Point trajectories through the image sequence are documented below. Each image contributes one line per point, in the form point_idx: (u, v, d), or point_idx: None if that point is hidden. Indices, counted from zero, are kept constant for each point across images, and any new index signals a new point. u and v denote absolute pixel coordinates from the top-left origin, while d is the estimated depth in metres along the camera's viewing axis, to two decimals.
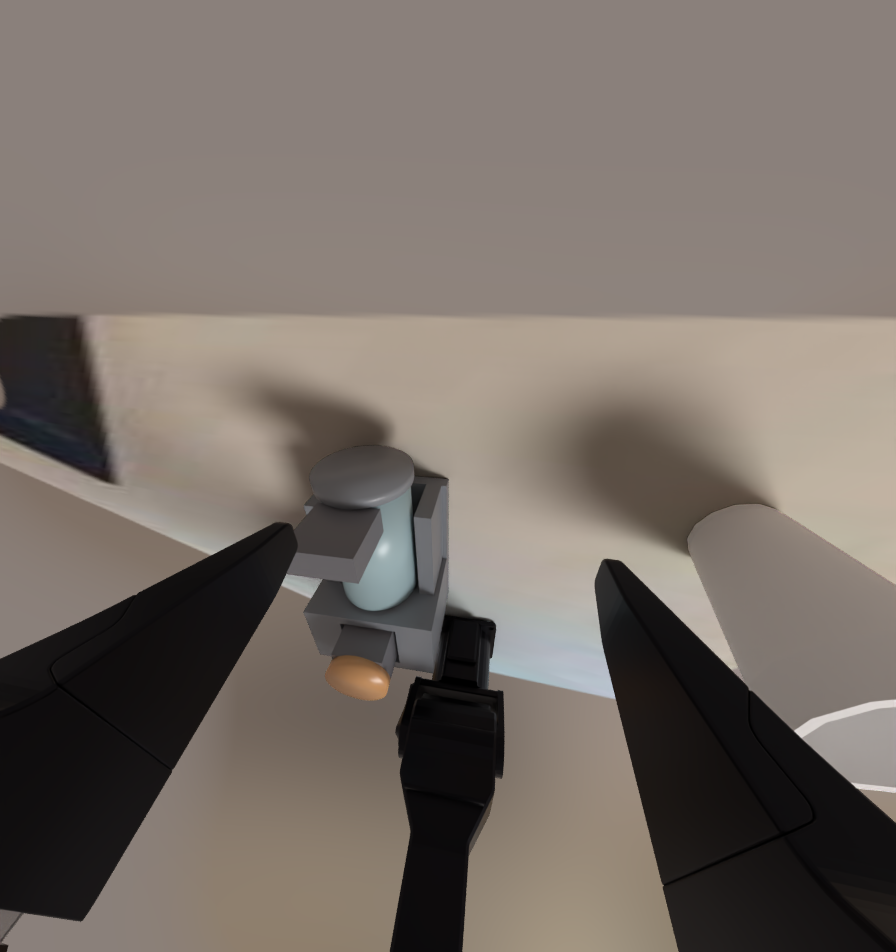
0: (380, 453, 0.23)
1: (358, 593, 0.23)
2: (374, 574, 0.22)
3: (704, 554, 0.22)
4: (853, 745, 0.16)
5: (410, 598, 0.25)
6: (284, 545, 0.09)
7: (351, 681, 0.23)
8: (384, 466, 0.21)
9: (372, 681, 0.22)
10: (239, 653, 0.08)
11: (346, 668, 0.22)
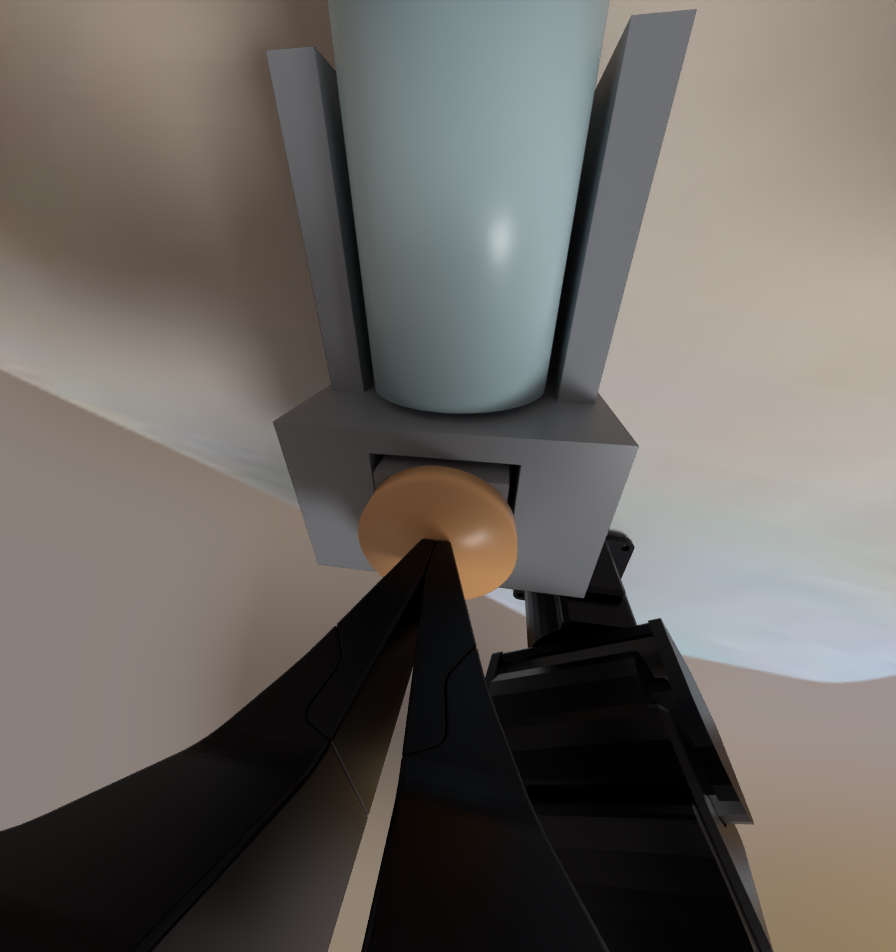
0: None
1: (426, 343, 0.08)
2: (491, 237, 0.07)
3: None
4: None
5: (540, 407, 0.10)
6: None
7: None
8: None
9: (485, 530, 0.08)
10: (407, 683, 0.08)
11: (421, 487, 0.08)
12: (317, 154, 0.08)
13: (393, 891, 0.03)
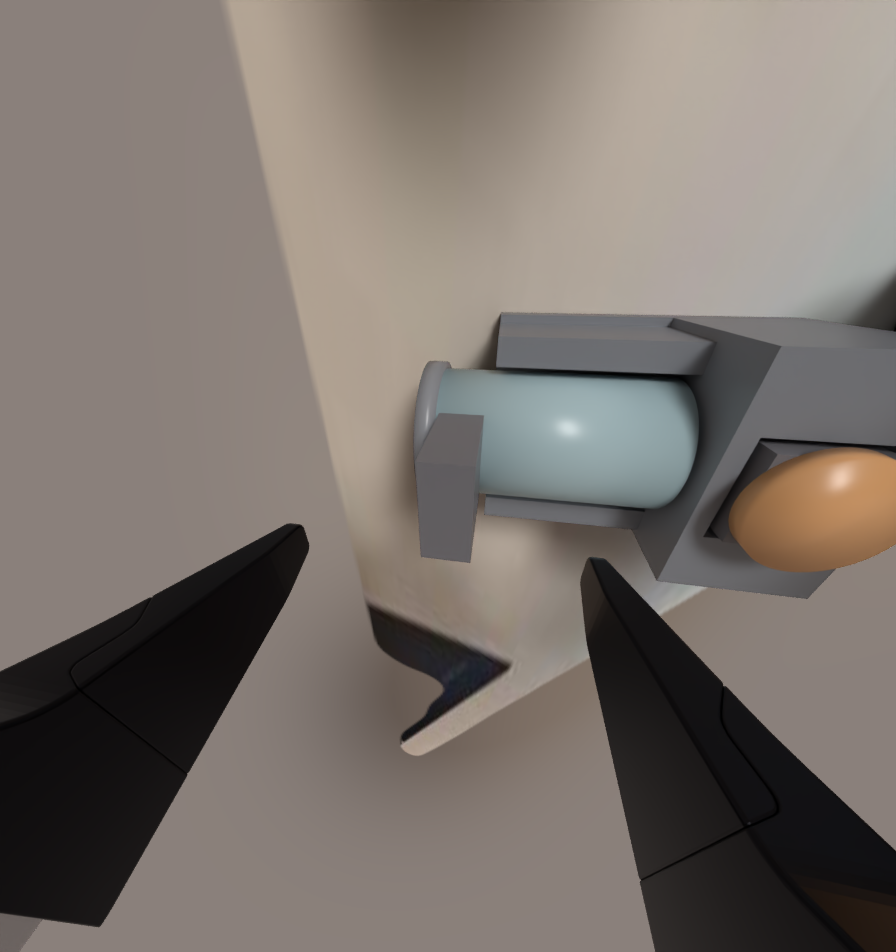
0: None
1: (632, 485, 0.13)
2: (584, 447, 0.12)
3: None
4: None
5: (703, 394, 0.12)
6: (296, 547, 0.09)
7: (811, 528, 0.10)
8: None
9: (824, 484, 0.10)
10: (252, 656, 0.08)
11: (750, 523, 0.11)
12: (518, 505, 0.17)
13: None
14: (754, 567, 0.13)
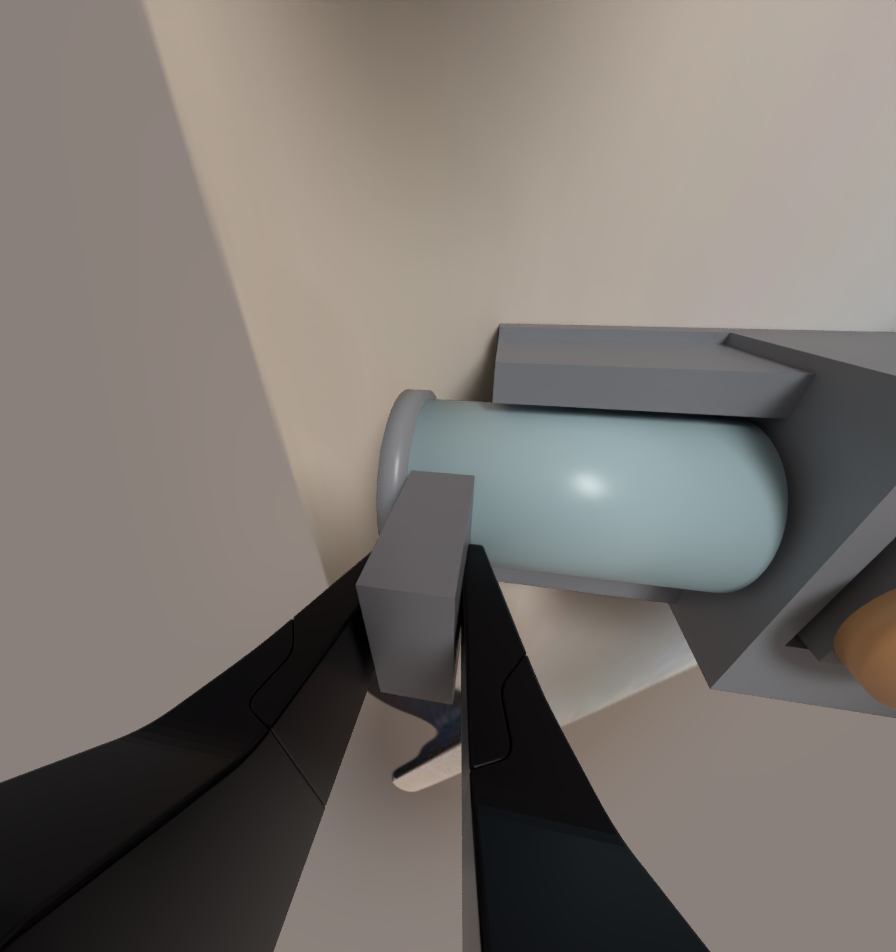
0: None
1: (684, 572, 0.09)
2: (617, 522, 0.09)
3: None
4: None
5: (791, 447, 0.09)
6: None
7: None
8: None
9: None
10: (371, 676, 0.08)
11: (883, 658, 0.07)
12: (521, 570, 0.13)
13: (499, 920, 0.03)
14: (853, 683, 0.09)
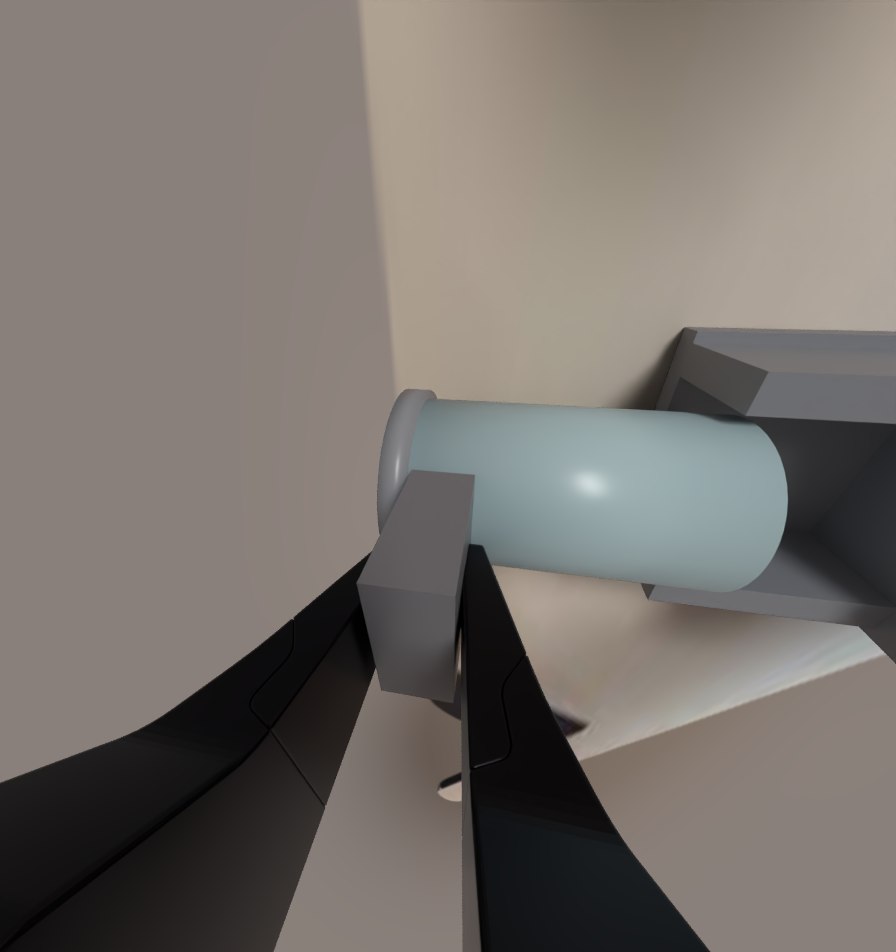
0: None
1: (684, 571, 0.09)
2: (617, 521, 0.09)
3: None
4: None
5: None
6: None
7: None
8: None
9: None
10: (371, 676, 0.08)
11: None
12: (703, 591, 0.12)
13: (499, 919, 0.03)
14: None
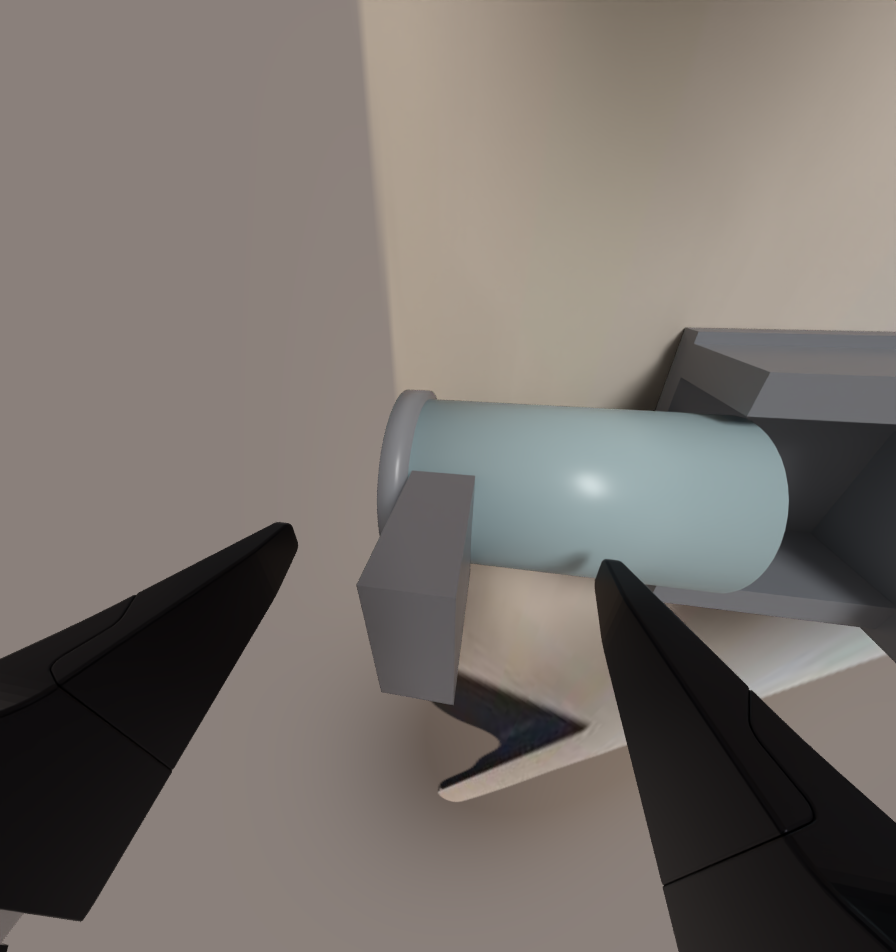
0: None
1: (684, 572, 0.09)
2: (618, 522, 0.09)
3: None
4: None
5: None
6: (284, 545, 0.09)
7: None
8: None
9: None
10: (239, 653, 0.08)
11: None
12: (704, 592, 0.12)
13: None
14: None
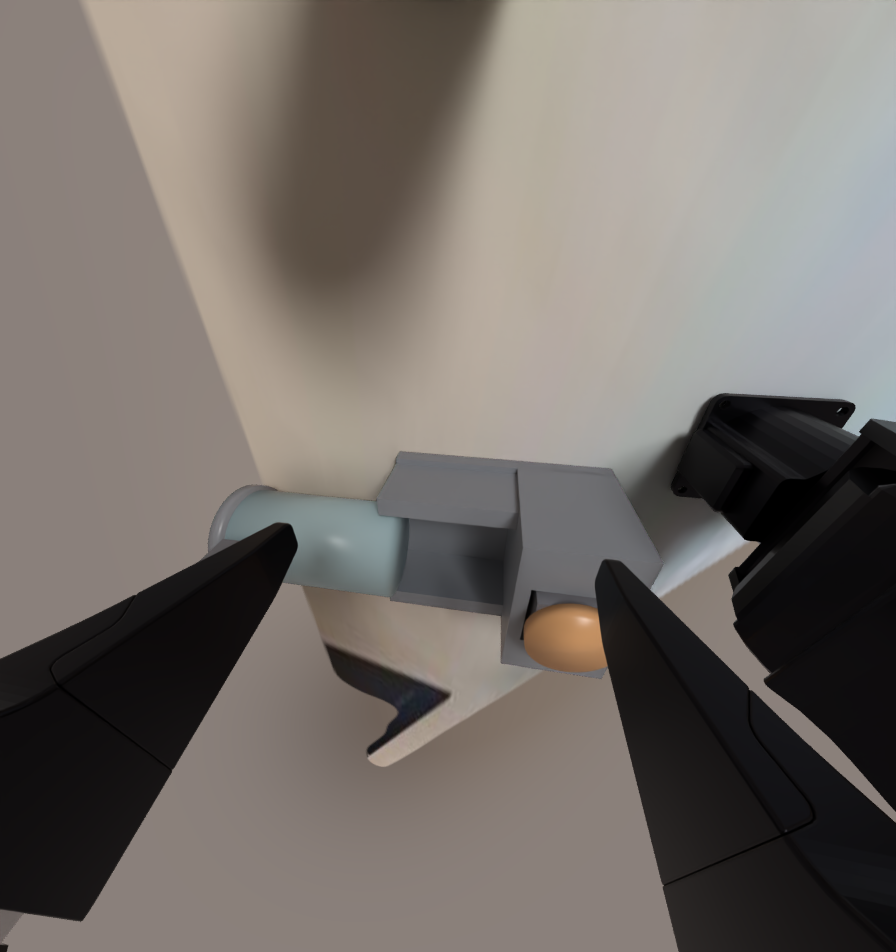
0: None
1: (355, 587, 0.19)
2: (317, 564, 0.19)
3: None
4: None
5: (515, 544, 0.18)
6: (284, 545, 0.09)
7: (563, 649, 0.16)
8: None
9: (559, 628, 0.15)
10: (239, 653, 0.08)
11: (527, 644, 0.16)
12: (413, 596, 0.22)
13: None
14: None
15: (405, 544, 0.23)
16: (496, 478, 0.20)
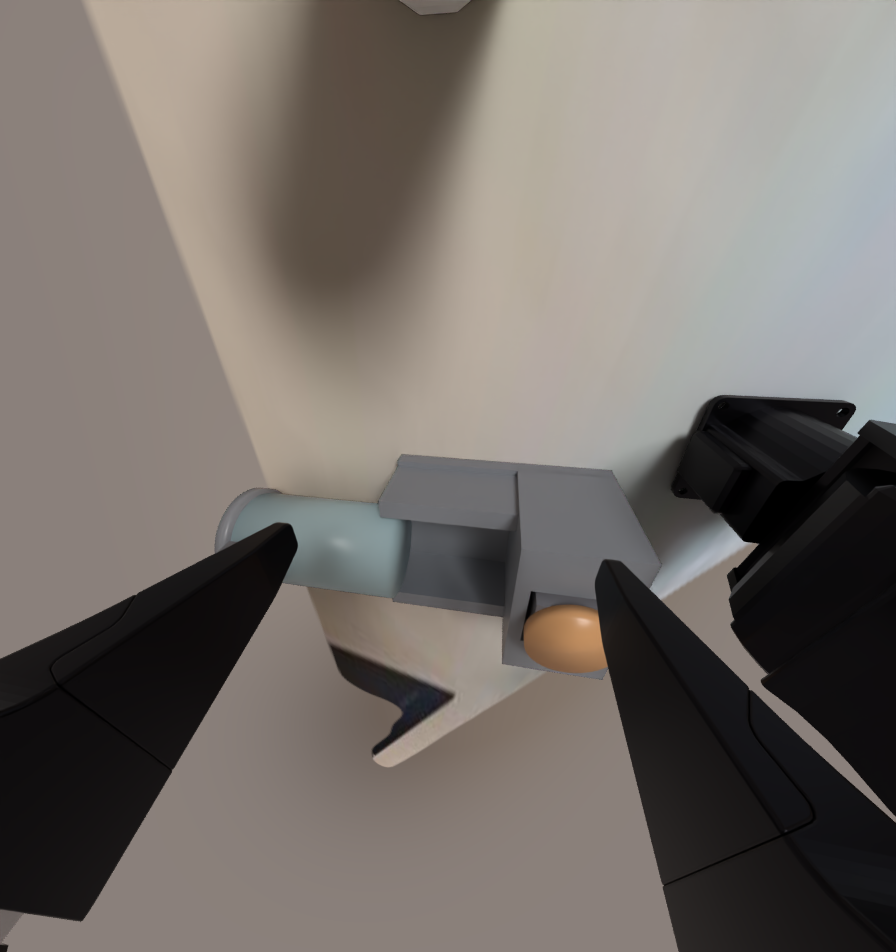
0: None
1: (358, 588, 0.19)
2: (320, 565, 0.19)
3: None
4: None
5: (515, 546, 0.18)
6: (284, 545, 0.09)
7: (563, 650, 0.16)
8: None
9: (558, 629, 0.15)
10: (239, 653, 0.08)
11: (527, 645, 0.16)
12: (415, 597, 0.23)
13: None
14: None
15: (407, 546, 0.23)
16: (496, 480, 0.20)
